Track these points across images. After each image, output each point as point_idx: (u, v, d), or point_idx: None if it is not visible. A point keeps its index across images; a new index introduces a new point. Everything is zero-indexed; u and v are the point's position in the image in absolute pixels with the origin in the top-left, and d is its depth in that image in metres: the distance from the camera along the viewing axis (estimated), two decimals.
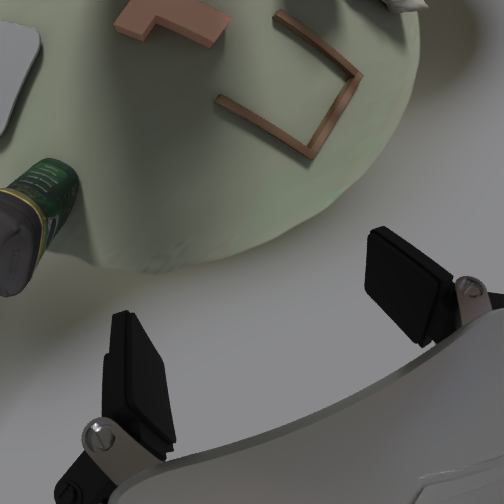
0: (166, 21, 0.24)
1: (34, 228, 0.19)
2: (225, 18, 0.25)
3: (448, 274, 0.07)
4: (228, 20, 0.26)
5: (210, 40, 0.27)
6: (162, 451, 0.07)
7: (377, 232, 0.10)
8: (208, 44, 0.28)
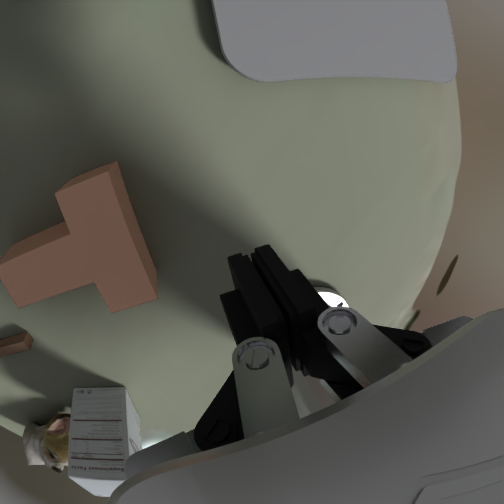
0: (57, 235, 0.17)
1: None
2: (20, 301, 0.17)
3: (310, 305, 0.08)
4: (16, 302, 0.17)
5: None
6: None
7: (257, 251, 0.10)
8: (8, 252, 0.17)
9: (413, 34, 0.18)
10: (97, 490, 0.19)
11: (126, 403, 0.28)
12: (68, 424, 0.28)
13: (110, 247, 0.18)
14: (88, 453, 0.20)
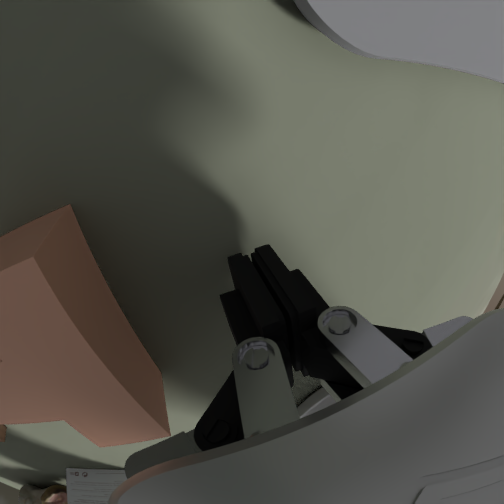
0: None
1: None
2: None
3: (310, 304, 0.08)
4: None
5: None
6: None
7: (257, 251, 0.10)
8: None
9: None
10: None
11: None
12: (66, 496, 0.18)
13: (75, 385, 0.08)
14: None
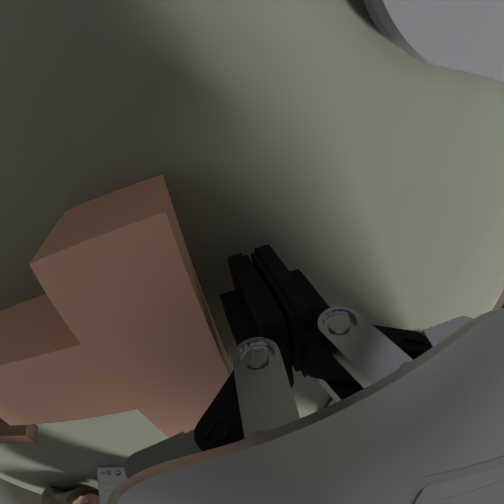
0: (52, 334, 0.08)
1: None
2: (10, 419, 0.08)
3: (310, 304, 0.08)
4: (5, 419, 0.08)
5: None
6: None
7: (257, 251, 0.10)
8: None
9: None
10: None
11: None
12: (94, 497, 0.19)
13: (169, 364, 0.09)
14: None
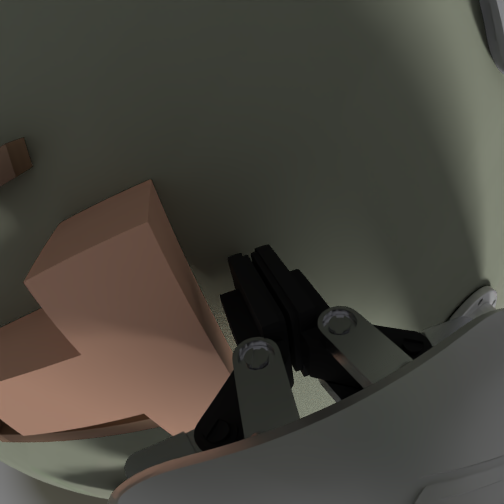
0: (54, 346, 0.08)
1: None
2: (23, 430, 0.09)
3: (310, 304, 0.08)
4: (18, 430, 0.08)
5: None
6: None
7: (257, 251, 0.10)
8: None
9: None
10: None
11: None
12: None
13: (170, 369, 0.09)
14: None
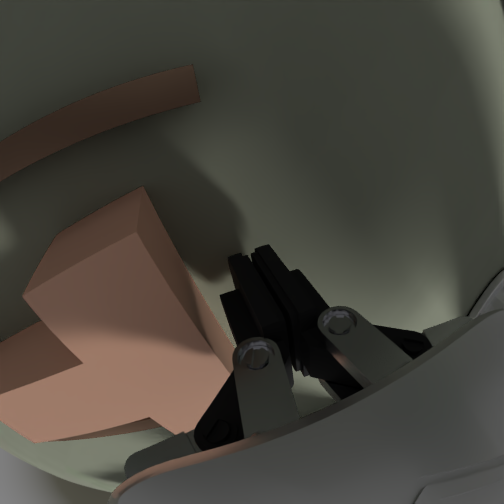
0: (58, 356, 0.08)
1: None
2: (33, 437, 0.09)
3: (310, 304, 0.08)
4: (29, 438, 0.09)
5: None
6: None
7: (257, 251, 0.10)
8: None
9: None
10: None
11: None
12: None
13: (171, 373, 0.09)
14: None
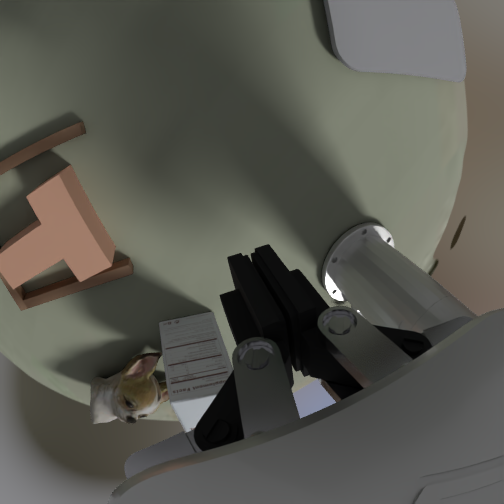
0: (34, 227, 0.22)
1: None
2: (14, 283, 0.22)
3: (310, 304, 0.08)
4: (11, 285, 0.22)
5: None
6: None
7: (257, 251, 0.10)
8: (2, 247, 0.22)
9: (439, 47, 0.25)
10: (195, 419, 0.27)
11: None
12: (147, 366, 0.35)
13: (69, 229, 0.22)
14: (190, 374, 0.28)
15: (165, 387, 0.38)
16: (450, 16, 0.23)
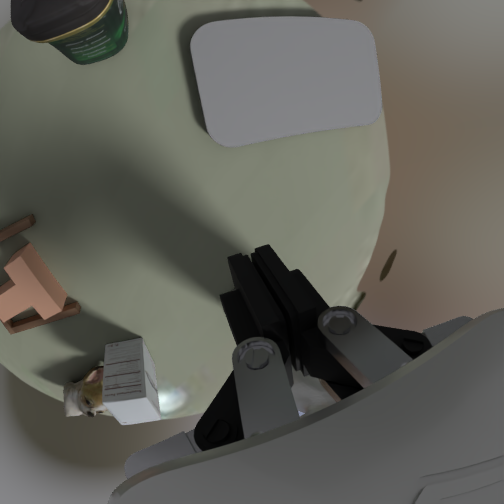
0: (11, 285, 0.30)
1: (20, 33, 0.10)
2: (3, 319, 0.31)
3: (310, 304, 0.08)
4: (2, 319, 0.31)
5: None
6: None
7: (257, 251, 0.10)
8: None
9: (340, 94, 0.34)
10: (123, 415, 0.35)
11: (143, 348, 0.43)
12: (101, 375, 0.44)
13: (33, 288, 0.31)
14: (117, 384, 0.36)
15: None
16: (361, 52, 0.31)
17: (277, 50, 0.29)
